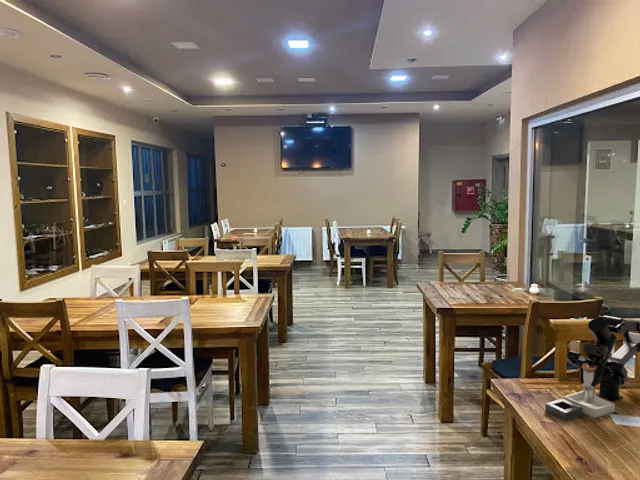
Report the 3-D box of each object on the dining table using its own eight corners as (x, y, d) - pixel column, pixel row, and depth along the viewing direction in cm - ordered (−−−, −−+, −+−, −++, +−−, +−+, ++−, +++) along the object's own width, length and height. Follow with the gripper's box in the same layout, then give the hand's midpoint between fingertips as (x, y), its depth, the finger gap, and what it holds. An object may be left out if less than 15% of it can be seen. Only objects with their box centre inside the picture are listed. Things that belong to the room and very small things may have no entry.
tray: (583, 398, 174) (583, 390, 174) (614, 412, 163) (614, 403, 163) (563, 404, 170) (563, 396, 170) (594, 418, 159) (594, 410, 159)
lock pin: (586, 397, 169) (586, 362, 168) (599, 402, 165) (599, 366, 164) (578, 400, 167) (579, 365, 166) (591, 405, 163) (592, 369, 162)
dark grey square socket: (561, 406, 168) (562, 398, 168) (582, 416, 161) (582, 407, 161) (545, 411, 165) (545, 403, 165) (565, 421, 158) (565, 412, 158)
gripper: (569, 328, 174) (552, 365, 169) (624, 341, 158) (607, 381, 153) (580, 344, 179) (563, 380, 174) (634, 358, 163) (618, 397, 158)
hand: (587, 384), depth 165 cm, fingers closed on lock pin, 3 cm apart
